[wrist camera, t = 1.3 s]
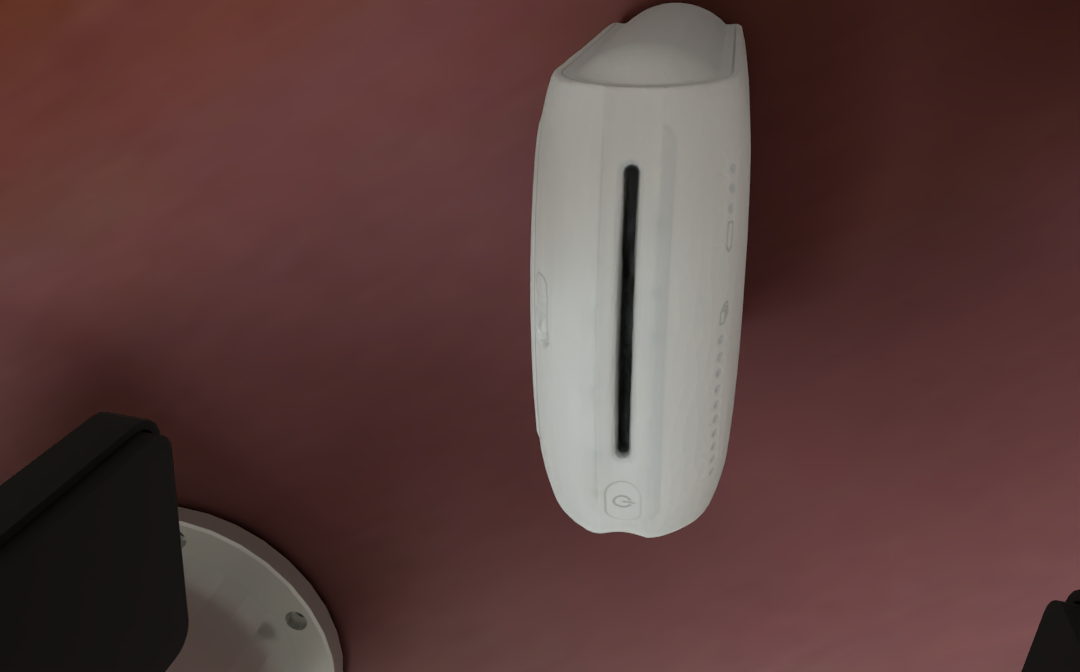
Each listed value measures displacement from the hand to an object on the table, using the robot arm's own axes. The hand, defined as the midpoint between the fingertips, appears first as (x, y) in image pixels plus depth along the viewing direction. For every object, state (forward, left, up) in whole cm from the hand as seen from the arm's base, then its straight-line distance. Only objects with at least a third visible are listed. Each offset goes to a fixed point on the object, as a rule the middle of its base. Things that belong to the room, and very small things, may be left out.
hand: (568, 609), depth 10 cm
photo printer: (0, 0, -20) cm, 20 cm away
